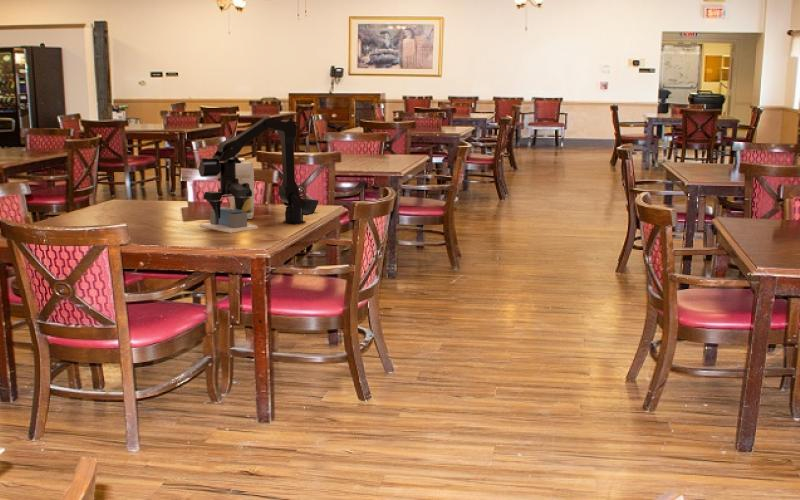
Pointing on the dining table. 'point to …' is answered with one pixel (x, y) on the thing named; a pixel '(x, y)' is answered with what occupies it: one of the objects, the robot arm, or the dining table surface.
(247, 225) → the plate
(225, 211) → the block
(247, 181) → the juice carton
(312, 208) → the black tapered bin
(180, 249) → the dining table surface
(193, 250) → the dining table surface
